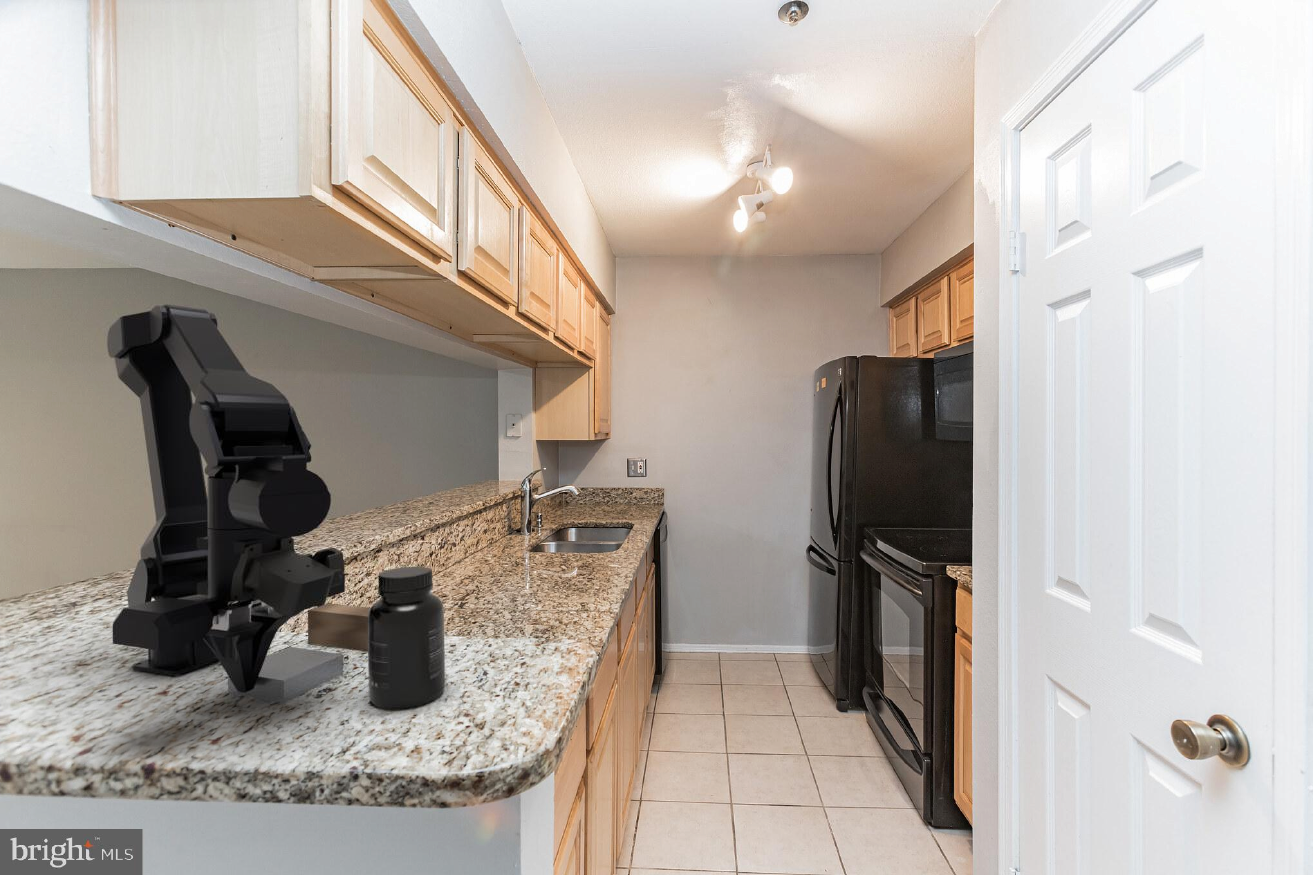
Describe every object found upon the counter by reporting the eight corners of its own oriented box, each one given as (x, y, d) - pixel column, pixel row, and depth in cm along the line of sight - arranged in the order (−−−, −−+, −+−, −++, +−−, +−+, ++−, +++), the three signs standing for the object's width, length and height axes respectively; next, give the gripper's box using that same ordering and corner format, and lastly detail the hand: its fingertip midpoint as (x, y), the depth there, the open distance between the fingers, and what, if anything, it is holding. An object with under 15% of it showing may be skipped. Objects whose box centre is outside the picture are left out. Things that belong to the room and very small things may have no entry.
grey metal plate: (228, 697, 59) (228, 671, 59) (290, 669, 65) (290, 646, 65) (283, 707, 57) (283, 680, 57) (342, 677, 63) (342, 654, 63)
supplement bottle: (421, 674, 63) (421, 560, 63) (458, 693, 59) (458, 570, 59) (354, 697, 58) (354, 572, 58) (389, 719, 54) (389, 584, 53)
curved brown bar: (307, 643, 72) (307, 610, 72) (327, 635, 75) (327, 603, 75) (407, 655, 68) (407, 620, 68) (424, 646, 71) (424, 612, 71)
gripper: (211, 549, 45) (212, 755, 46) (387, 515, 63) (387, 664, 63) (107, 540, 49) (108, 733, 49) (303, 511, 66) (303, 652, 67)
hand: (245, 690), depth 57 cm, fingers closed
